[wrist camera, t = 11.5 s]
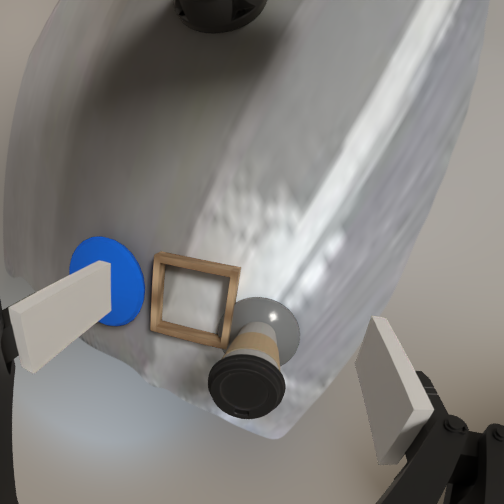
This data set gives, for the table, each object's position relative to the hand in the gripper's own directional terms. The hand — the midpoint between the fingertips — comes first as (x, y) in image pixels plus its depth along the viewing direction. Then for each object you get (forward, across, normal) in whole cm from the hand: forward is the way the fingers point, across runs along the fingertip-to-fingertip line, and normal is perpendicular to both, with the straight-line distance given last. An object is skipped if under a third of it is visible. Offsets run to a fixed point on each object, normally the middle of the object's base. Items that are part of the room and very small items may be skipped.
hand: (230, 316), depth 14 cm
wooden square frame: (+31, -10, -14) cm, 35 cm away
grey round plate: (+31, +1, -18) cm, 36 cm away
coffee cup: (+30, +1, -18) cm, 35 cm away
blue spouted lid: (+31, -26, -14) cm, 43 cm away
